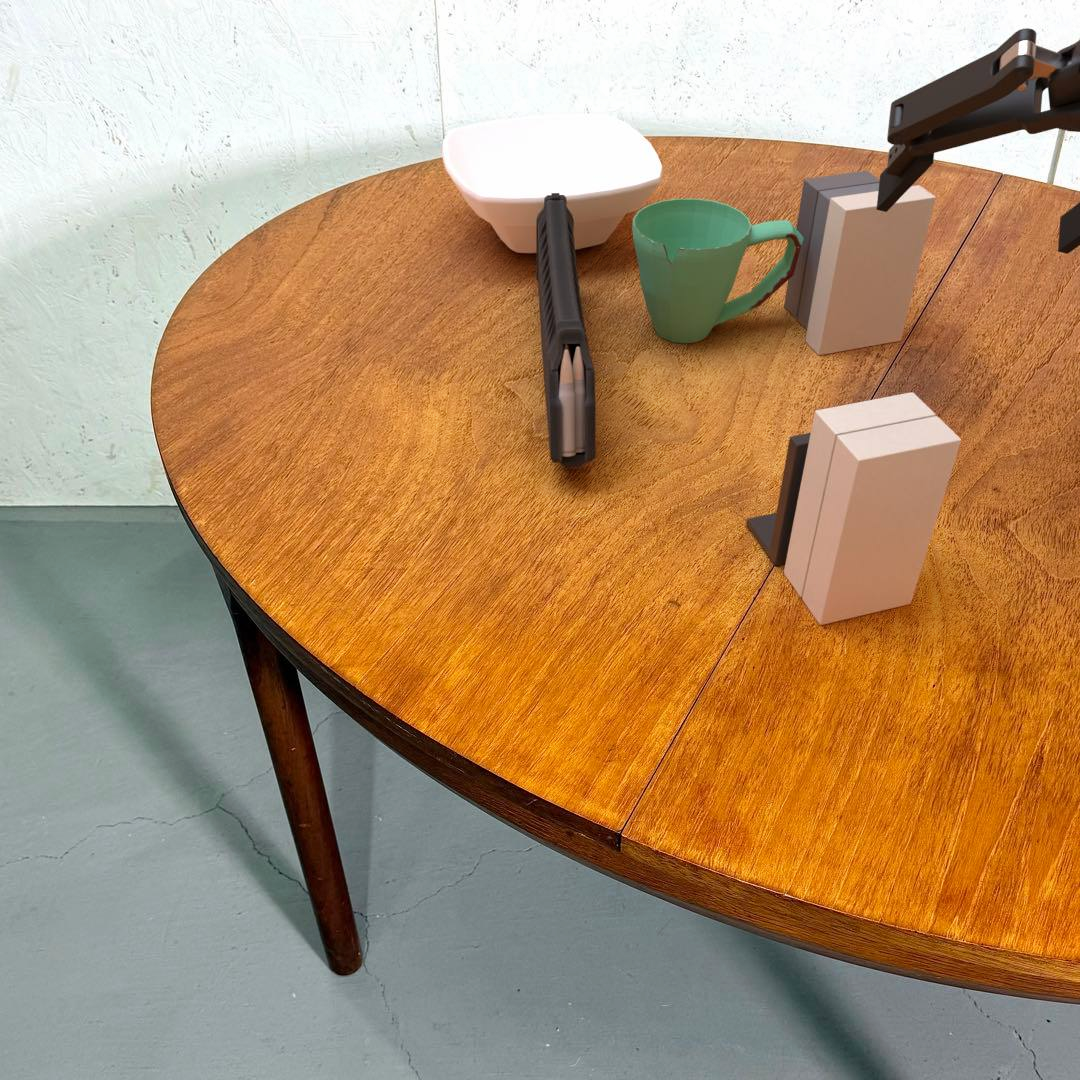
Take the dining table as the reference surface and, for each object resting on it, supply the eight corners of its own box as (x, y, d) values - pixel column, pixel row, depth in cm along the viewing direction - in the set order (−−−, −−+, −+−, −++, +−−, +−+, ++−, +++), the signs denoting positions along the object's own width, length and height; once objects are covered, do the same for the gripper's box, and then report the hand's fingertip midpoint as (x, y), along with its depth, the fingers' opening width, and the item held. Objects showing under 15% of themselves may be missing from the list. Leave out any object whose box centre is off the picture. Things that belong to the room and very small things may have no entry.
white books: (835, 505, 76) (871, 346, 67) (914, 603, 68) (966, 438, 60) (745, 524, 74) (770, 364, 66) (816, 626, 67) (854, 461, 58)
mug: (639, 362, 90) (646, 253, 84) (617, 306, 98) (622, 201, 91) (806, 349, 92) (825, 240, 85) (772, 294, 99) (787, 190, 92)
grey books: (842, 296, 99) (867, 170, 91) (870, 323, 95) (899, 193, 87) (783, 306, 97) (803, 178, 89) (809, 333, 94) (833, 203, 86)
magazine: (534, 186, 96) (547, 237, 69) (570, 185, 96) (597, 236, 69) (538, 371, 103) (550, 484, 76) (571, 370, 103) (596, 483, 76)
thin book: (886, 327, 94) (919, 184, 86) (901, 340, 93) (936, 197, 84) (804, 341, 93) (830, 197, 84) (818, 355, 91) (845, 210, 82)
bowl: (469, 295, 99) (464, 207, 94) (434, 204, 115) (427, 124, 109) (678, 269, 103) (686, 183, 97) (617, 185, 118) (620, 106, 112)
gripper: (962, 23, 52) (799, 224, 73) (1416, 137, 55) (1134, 300, 75) (975, -107, 53) (812, 127, 74) (1416, 11, 56) (1140, 205, 77)
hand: (974, 214), depth 75 cm, fingers open, 13 cm apart
